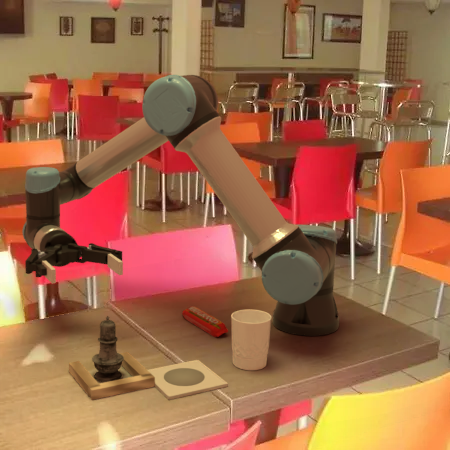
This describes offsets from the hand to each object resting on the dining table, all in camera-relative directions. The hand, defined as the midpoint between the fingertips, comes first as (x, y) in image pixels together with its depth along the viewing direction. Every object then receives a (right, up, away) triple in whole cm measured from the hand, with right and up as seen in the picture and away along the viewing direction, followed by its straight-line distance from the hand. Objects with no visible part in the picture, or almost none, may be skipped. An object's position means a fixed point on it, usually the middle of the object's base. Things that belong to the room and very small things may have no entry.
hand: (88, 272), depth 140 cm
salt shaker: (+5, -19, -4) cm, 20 cm away
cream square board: (+19, -20, -5) cm, 28 cm away
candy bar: (+22, -14, +22) cm, 34 cm away
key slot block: (+5, -19, -5) cm, 21 cm away
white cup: (+31, -18, +3) cm, 37 cm away
